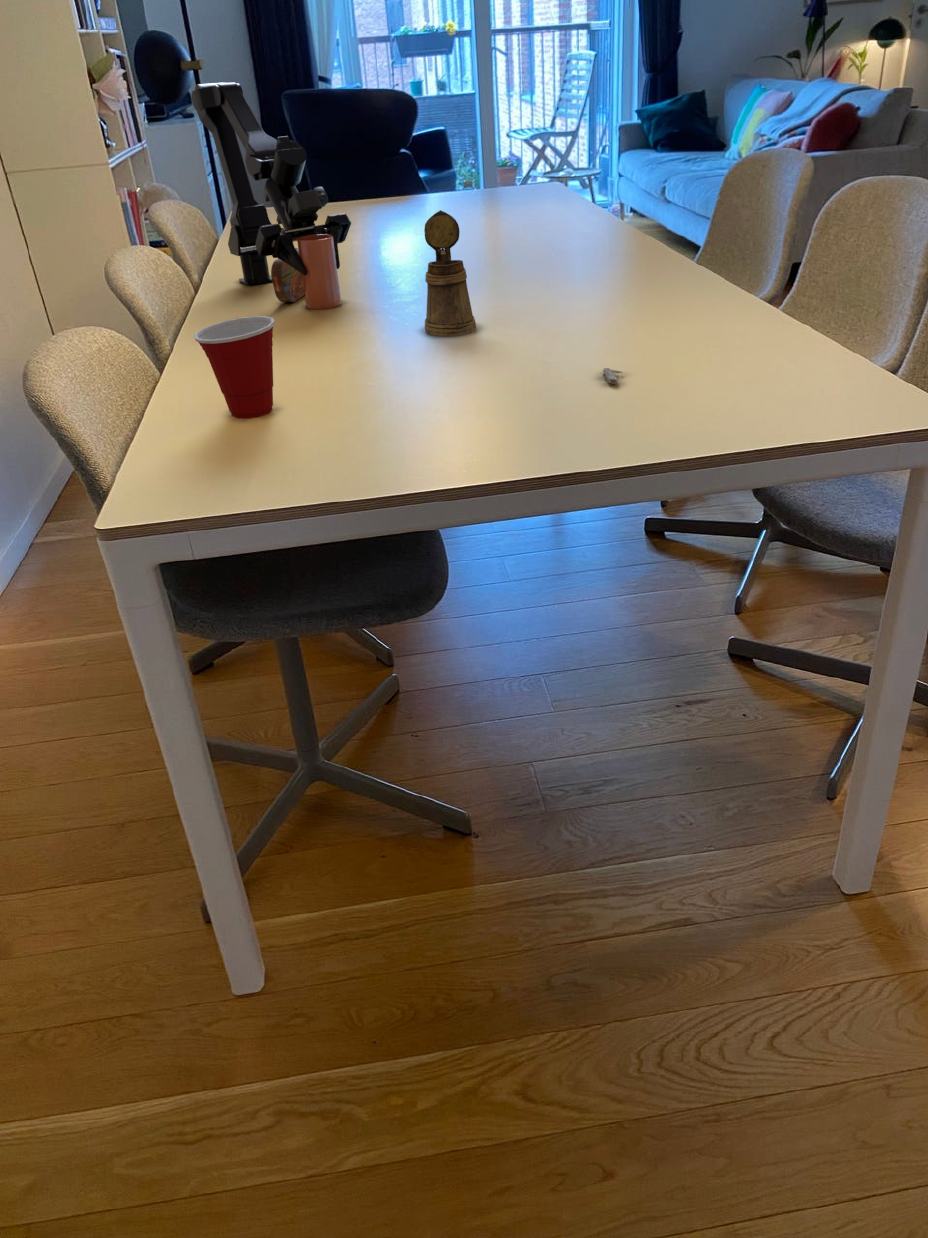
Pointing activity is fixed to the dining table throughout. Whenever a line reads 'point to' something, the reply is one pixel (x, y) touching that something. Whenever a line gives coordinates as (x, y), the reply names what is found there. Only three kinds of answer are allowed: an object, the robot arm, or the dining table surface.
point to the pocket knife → (610, 375)
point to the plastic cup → (242, 363)
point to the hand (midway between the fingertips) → (322, 270)
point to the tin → (286, 281)
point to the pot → (319, 271)
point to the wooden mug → (446, 281)
